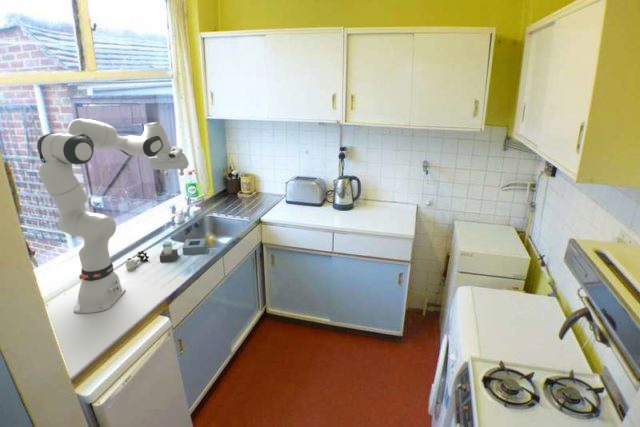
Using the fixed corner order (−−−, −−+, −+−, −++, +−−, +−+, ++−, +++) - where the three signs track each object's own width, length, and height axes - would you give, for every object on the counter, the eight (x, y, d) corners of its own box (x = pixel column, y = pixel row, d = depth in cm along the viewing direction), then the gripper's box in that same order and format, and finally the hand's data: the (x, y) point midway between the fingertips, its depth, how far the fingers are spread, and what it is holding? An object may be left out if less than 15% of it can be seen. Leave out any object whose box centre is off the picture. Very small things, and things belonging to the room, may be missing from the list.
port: (204, 254, 211) (203, 246, 209) (183, 256, 209) (182, 247, 208) (206, 246, 221) (205, 237, 219) (186, 247, 220) (185, 239, 218)
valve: (134, 273, 192) (150, 262, 203) (131, 261, 190) (148, 251, 201) (123, 272, 194) (139, 261, 205) (120, 260, 191) (137, 249, 202)
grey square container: (175, 262, 202) (174, 255, 201) (160, 264, 201) (159, 256, 200) (178, 256, 209) (177, 249, 208) (163, 257, 208) (162, 249, 207)
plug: (172, 259, 203) (169, 244, 200) (165, 260, 203) (162, 244, 200) (173, 256, 207) (171, 241, 204) (166, 257, 206) (164, 241, 203)
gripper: (143, 156, 196) (153, 178, 205) (179, 154, 192) (188, 178, 200) (149, 149, 201) (159, 172, 210) (184, 148, 197) (193, 171, 205)
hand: (174, 175), depth 205 cm, fingers open, 8 cm apart
